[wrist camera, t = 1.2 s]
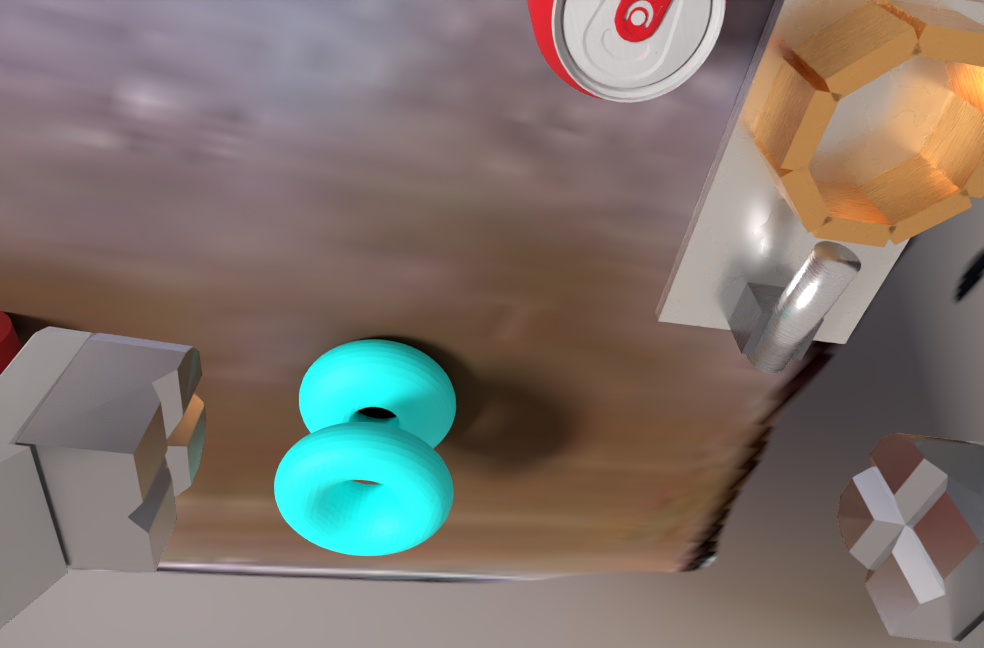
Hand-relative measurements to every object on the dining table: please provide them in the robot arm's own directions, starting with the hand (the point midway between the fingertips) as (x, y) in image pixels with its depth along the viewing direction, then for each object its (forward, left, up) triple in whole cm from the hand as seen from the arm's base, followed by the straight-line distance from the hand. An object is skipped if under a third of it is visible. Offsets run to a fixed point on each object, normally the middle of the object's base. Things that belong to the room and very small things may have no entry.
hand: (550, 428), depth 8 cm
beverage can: (-1, +4, -29) cm, 29 cm away
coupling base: (+4, +19, -28) cm, 34 cm away
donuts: (+27, -3, -29) cm, 40 cm away
